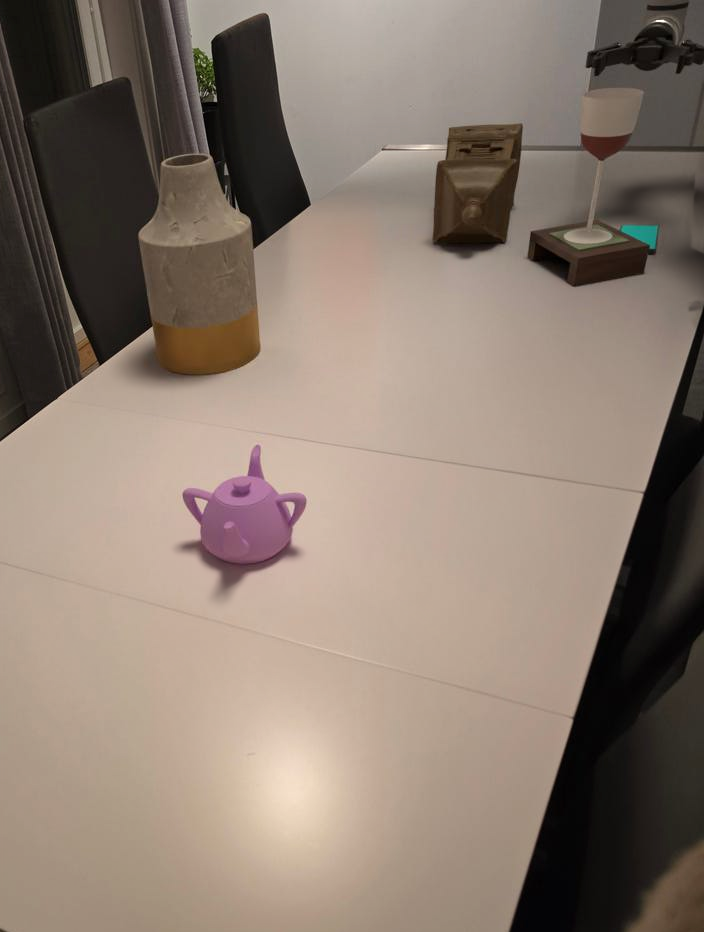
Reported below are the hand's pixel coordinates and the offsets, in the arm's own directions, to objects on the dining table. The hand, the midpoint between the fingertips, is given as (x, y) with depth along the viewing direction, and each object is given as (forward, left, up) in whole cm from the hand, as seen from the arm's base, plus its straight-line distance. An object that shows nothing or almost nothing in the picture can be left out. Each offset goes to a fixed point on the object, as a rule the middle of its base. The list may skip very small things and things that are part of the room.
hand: (637, 66), depth 149 cm
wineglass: (-9, +10, -25) cm, 28 cm away
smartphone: (-3, -6, -30) cm, 31 cm away
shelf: (-9, +10, -30) cm, 33 cm away
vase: (-17, +86, -30) cm, 93 cm away
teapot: (-76, +93, -30) cm, 124 cm away
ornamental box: (+20, +19, -30) cm, 41 cm away
